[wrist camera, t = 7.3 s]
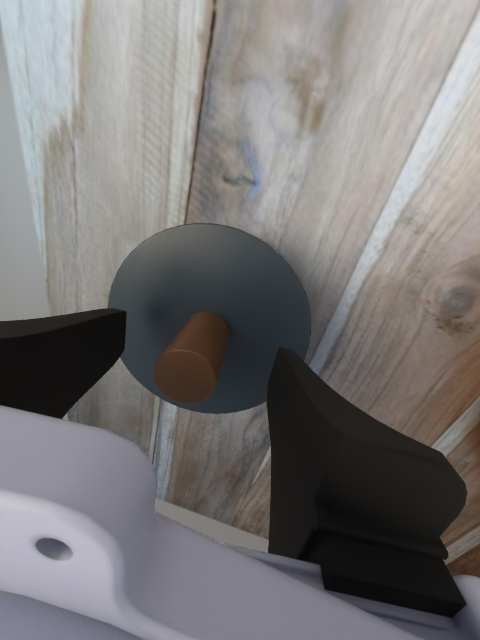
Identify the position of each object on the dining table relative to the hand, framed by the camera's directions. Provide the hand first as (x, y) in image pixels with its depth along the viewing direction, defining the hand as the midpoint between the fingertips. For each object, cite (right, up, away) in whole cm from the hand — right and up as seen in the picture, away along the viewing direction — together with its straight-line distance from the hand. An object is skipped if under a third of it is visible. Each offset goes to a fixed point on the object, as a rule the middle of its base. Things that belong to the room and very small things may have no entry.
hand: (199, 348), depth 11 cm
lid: (0, +1, +2) cm, 2 cm away
